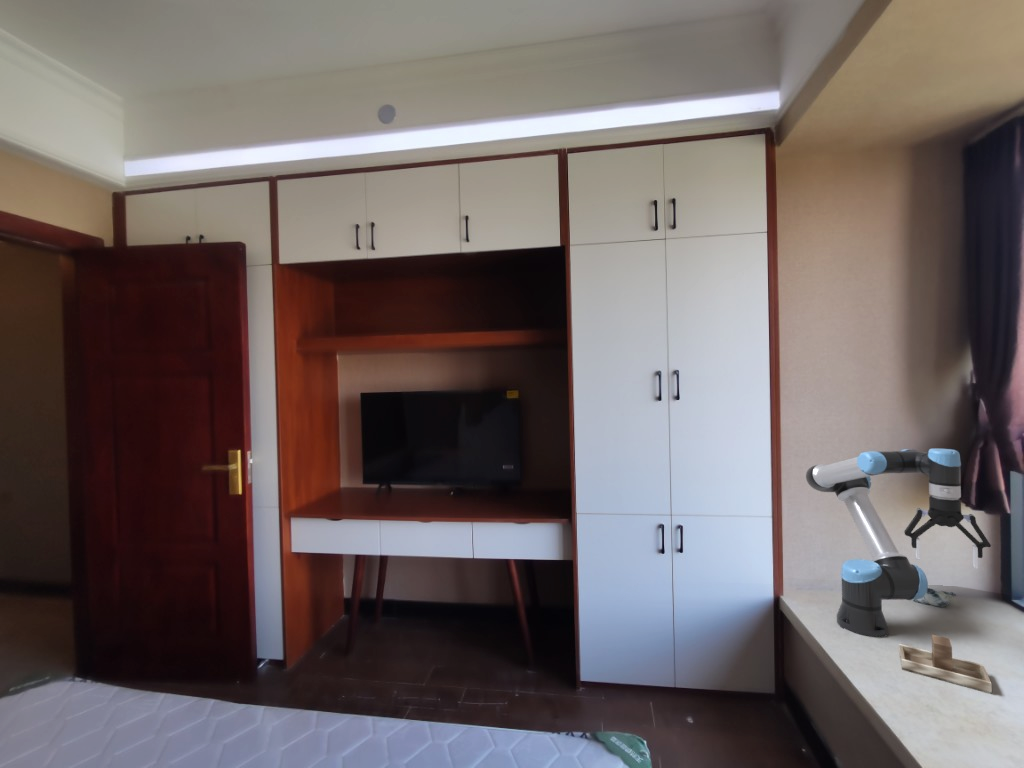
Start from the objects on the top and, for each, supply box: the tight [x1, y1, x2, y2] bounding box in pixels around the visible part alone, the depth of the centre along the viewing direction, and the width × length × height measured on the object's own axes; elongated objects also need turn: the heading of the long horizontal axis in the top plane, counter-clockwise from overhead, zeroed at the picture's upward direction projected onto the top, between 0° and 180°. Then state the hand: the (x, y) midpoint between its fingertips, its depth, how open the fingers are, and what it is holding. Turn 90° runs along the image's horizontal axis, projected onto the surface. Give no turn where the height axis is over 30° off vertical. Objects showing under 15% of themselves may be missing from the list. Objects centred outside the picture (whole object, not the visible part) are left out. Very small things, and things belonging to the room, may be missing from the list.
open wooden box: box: [898, 643, 993, 694], centre depth 141 cm, size 20×11×3 cm, turn 53°
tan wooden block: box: [931, 634, 953, 672], centre depth 141 cm, size 4×6×9 cm, turn 142°
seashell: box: [912, 587, 957, 608], centre depth 182 cm, size 6×8×12 cm
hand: (945, 562), depth 149 cm, fingers open, 13 cm apart
